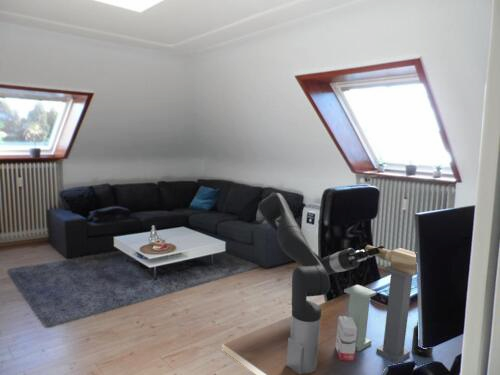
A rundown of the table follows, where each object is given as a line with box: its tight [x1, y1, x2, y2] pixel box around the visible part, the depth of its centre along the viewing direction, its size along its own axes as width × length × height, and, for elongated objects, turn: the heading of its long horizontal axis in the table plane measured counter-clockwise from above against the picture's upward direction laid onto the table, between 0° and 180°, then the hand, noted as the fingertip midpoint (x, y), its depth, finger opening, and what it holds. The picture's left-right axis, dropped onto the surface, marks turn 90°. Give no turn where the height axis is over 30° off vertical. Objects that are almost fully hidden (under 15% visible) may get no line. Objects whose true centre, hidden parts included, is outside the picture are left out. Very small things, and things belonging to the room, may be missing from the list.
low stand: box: [343, 284, 377, 352], centre depth 141 cm, size 8×8×20 cm
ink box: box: [335, 315, 357, 362], centre depth 134 cm, size 8×5×12 cm, turn 178°
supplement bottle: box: [411, 321, 434, 358], centre depth 137 cm, size 7×7×12 cm
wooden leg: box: [364, 244, 417, 276], centre depth 134 cm, size 5×19×6 cm, turn 40°
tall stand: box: [376, 265, 417, 364], centre depth 134 cm, size 8×8×31 cm
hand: (381, 249), depth 137 cm, fingers closed on wooden leg, 3 cm apart
